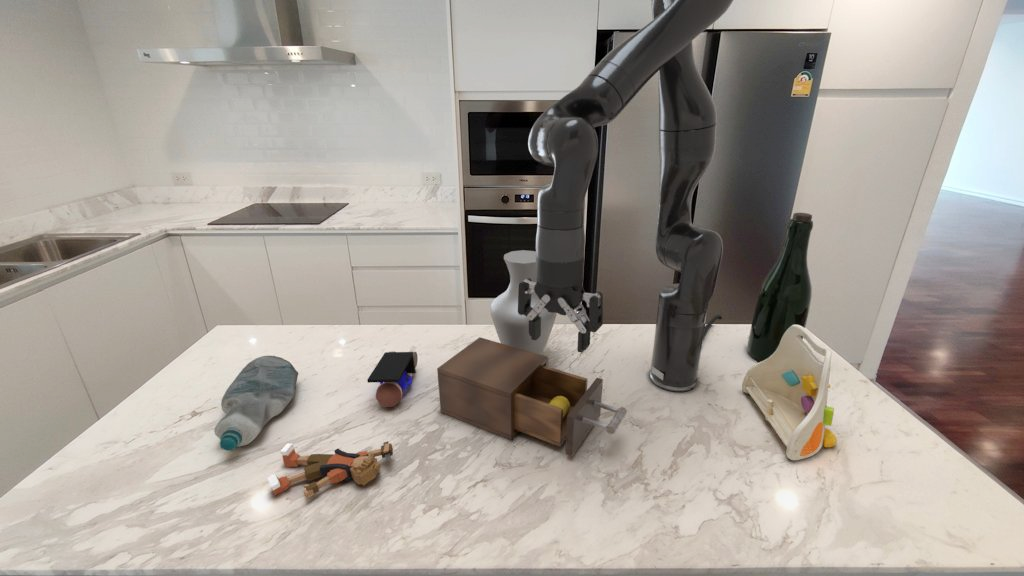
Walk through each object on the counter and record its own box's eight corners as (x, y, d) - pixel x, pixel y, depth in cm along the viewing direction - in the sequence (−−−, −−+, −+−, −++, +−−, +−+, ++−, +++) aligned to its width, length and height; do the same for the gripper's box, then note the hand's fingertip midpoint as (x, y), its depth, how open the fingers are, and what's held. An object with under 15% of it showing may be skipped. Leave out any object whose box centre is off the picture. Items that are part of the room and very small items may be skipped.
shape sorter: (852, 463, 78) (883, 370, 71) (785, 461, 79) (810, 368, 72) (793, 392, 96) (813, 312, 89) (739, 391, 97) (755, 312, 90)
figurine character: (390, 376, 106) (369, 411, 92) (387, 344, 104) (365, 375, 90) (420, 376, 106) (403, 412, 91) (418, 344, 104) (401, 375, 89)
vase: (516, 339, 118) (515, 241, 109) (567, 356, 110) (571, 252, 101) (479, 364, 107) (474, 259, 98) (532, 385, 100) (533, 273, 90)
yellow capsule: (558, 431, 83) (556, 413, 81) (540, 427, 84) (537, 409, 83) (574, 411, 88) (572, 393, 87) (556, 407, 90) (554, 390, 89)
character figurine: (297, 430, 82) (395, 429, 79) (305, 452, 84) (401, 453, 81) (252, 482, 71) (364, 484, 68) (263, 507, 73) (372, 510, 70)
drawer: (630, 425, 86) (634, 388, 83) (605, 470, 76) (608, 429, 73) (531, 392, 96) (531, 358, 93) (497, 428, 86) (496, 390, 83)
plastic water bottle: (244, 381, 102) (184, 463, 79) (240, 351, 99) (176, 427, 76) (309, 381, 104) (269, 461, 81) (306, 352, 101) (264, 426, 78)
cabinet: (547, 399, 95) (548, 356, 91) (511, 440, 84) (510, 393, 80) (481, 377, 103) (479, 336, 99) (440, 412, 92) (436, 368, 88)
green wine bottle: (802, 353, 110) (837, 212, 97) (791, 373, 103) (828, 223, 90) (753, 339, 116) (781, 205, 104) (739, 357, 109) (767, 214, 96)
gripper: (612, 252, 74) (606, 344, 80) (531, 239, 81) (531, 325, 87) (594, 267, 68) (589, 365, 74) (508, 252, 75) (510, 343, 81)
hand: (558, 344), depth 80 cm, fingers open, 8 cm apart
